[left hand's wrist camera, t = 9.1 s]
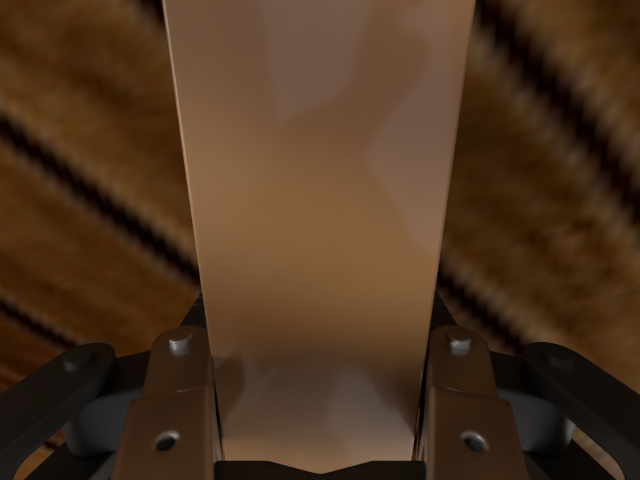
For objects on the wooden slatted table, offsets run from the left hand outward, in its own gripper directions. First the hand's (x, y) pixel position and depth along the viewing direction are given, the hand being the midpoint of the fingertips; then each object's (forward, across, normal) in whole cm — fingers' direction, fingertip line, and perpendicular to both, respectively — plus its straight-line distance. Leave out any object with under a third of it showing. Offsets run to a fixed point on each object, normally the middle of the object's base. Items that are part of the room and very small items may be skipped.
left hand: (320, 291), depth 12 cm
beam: (+2, 0, -18) cm, 18 cm away
